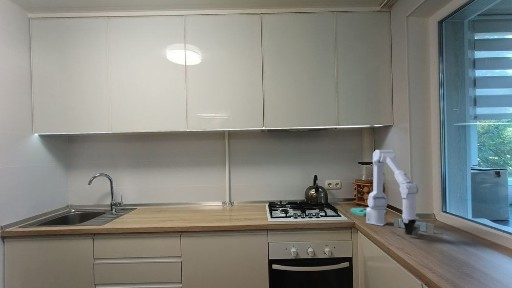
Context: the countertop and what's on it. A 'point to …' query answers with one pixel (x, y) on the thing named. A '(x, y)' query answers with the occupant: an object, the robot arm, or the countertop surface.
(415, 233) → the block
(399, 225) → the grey long flat piece
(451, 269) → the countertop surface
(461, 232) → the countertop surface
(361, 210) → the teal pixel art cutout
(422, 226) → the pale blue stick
